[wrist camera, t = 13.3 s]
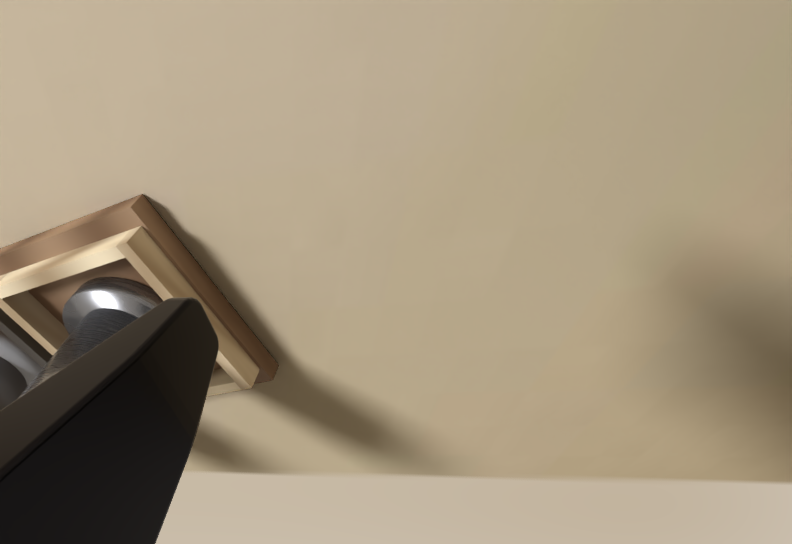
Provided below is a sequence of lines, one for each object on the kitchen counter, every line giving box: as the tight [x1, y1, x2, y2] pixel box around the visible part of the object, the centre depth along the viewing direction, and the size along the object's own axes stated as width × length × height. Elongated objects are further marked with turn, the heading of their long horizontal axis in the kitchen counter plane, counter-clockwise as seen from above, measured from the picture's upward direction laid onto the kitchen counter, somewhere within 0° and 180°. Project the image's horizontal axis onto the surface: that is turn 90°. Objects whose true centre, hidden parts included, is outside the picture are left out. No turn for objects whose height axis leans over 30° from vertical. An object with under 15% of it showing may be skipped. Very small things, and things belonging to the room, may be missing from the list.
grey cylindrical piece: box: [18, 277, 163, 398], centre depth 23 cm, size 6×6×12 cm
